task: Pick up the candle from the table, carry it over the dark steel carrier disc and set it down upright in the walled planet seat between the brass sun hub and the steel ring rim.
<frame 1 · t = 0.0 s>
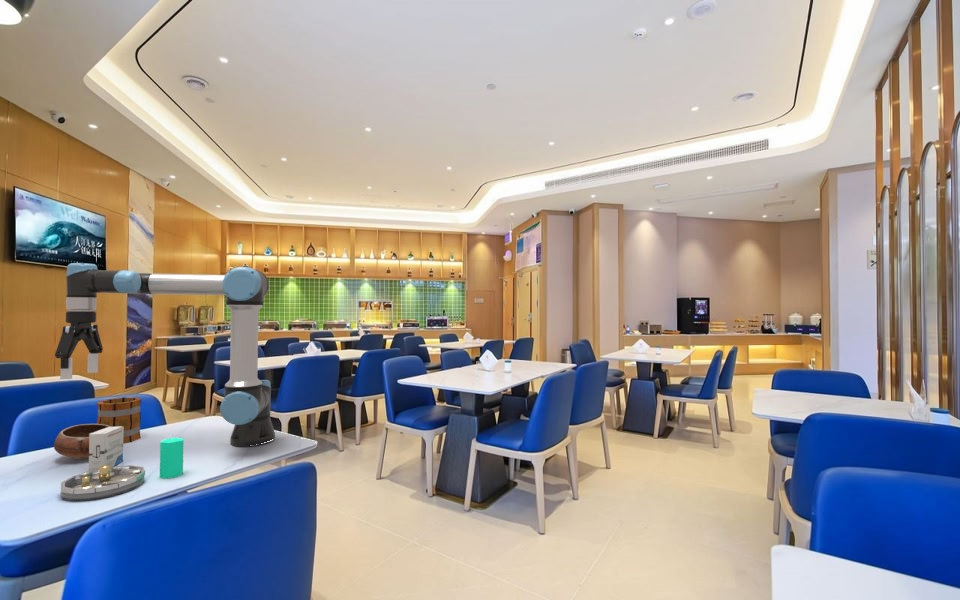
hand: (80, 375, 148), 28 cm above the table, fingers open, 13 cm apart
bowl: (85, 457, 153), on the table
candle: (171, 475, 137), on the table
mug: (121, 438, 174), on the table
carrier: (104, 487, 127), on the table
ink box: (106, 467, 144), on the table
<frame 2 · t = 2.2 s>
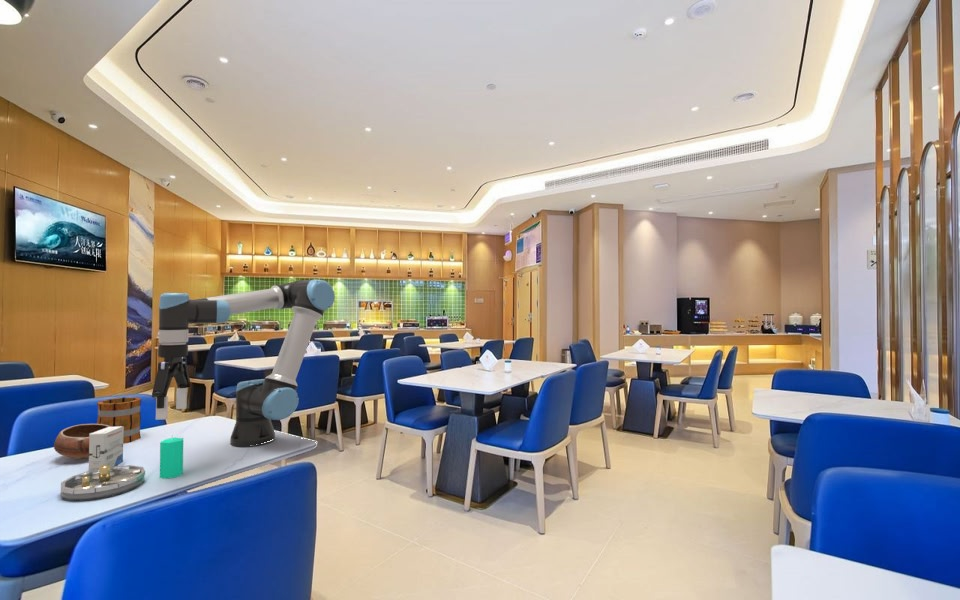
hand: (171, 413, 137), 18 cm above the table, fingers open, 13 cm apart
nothing on the table moved.
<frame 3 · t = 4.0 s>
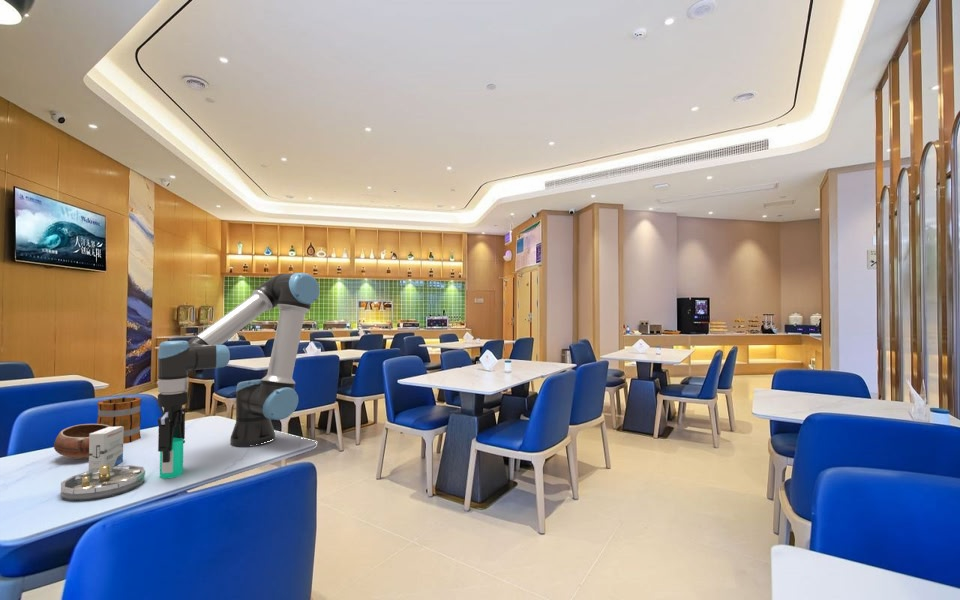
hand: (171, 468, 137), 2 cm above the table, fingers closed on candle, 5 cm apart
candle: (171, 475, 137), on the table, touching gripper
everything else where it was.
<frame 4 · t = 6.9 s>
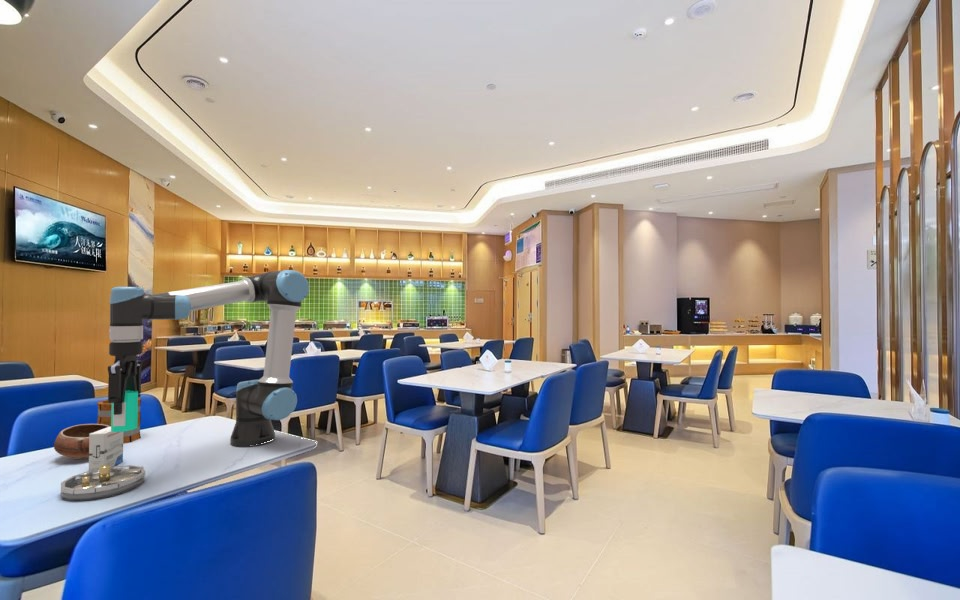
hand: (124, 423, 129), 18 cm above the table, fingers closed on candle, 5 cm apart
candle: (124, 429, 128), point 16 cm above the table, touching gripper
everything else where it was.
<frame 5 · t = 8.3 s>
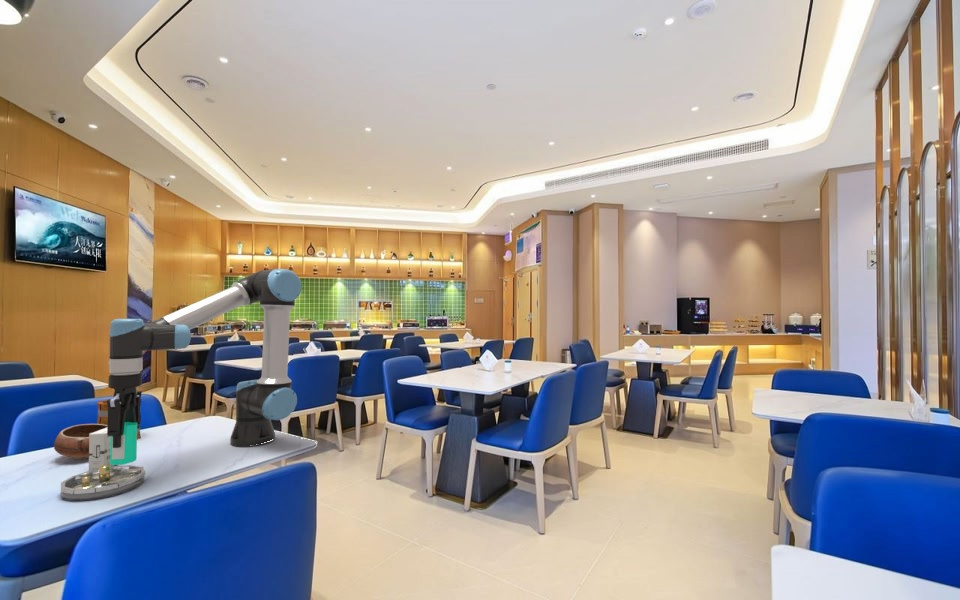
hand: (123, 455, 128), 9 cm above the table, fingers closed on candle, 5 cm apart
candle: (123, 462, 128), point 7 cm above the table, touching gripper
everything else where it was.
when the fingers open (5 cm above the table, at t = 9.3 s): candle drops 1 cm, resting on carrier.
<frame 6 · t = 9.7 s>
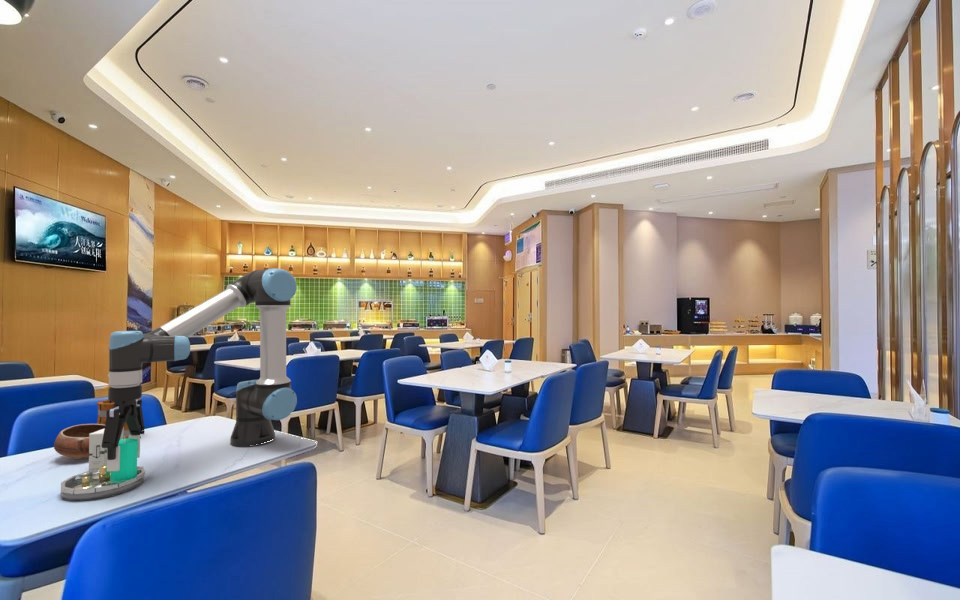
hand: (124, 463, 128), 6 cm above the table, fingers open, 10 cm apart
candle: (123, 478, 128), point 2 cm above the table, touching carrier
everything else where it was.
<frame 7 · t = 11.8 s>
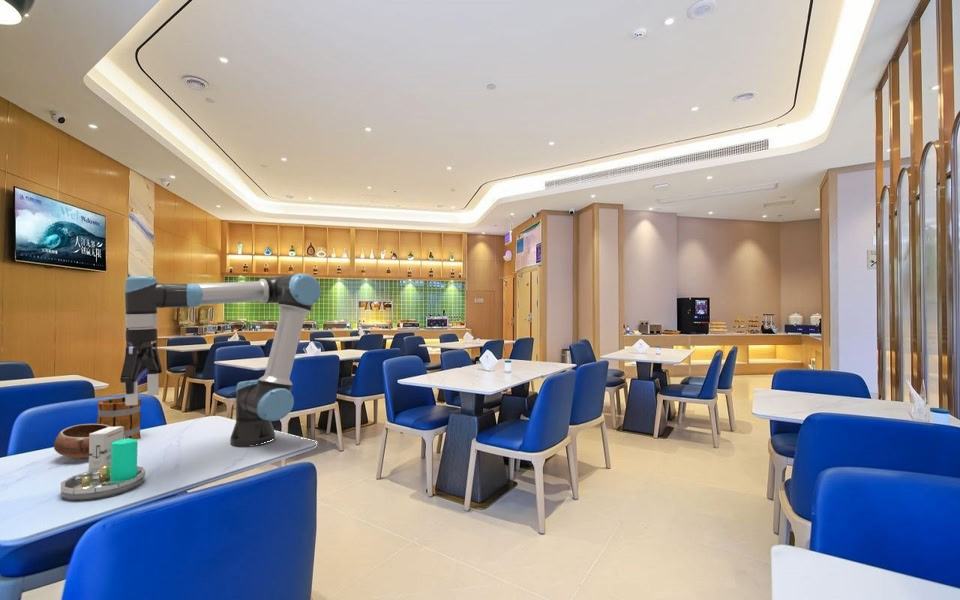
hand: (142, 399, 135), 23 cm above the table, fingers open, 13 cm apart
nothing on the table moved.
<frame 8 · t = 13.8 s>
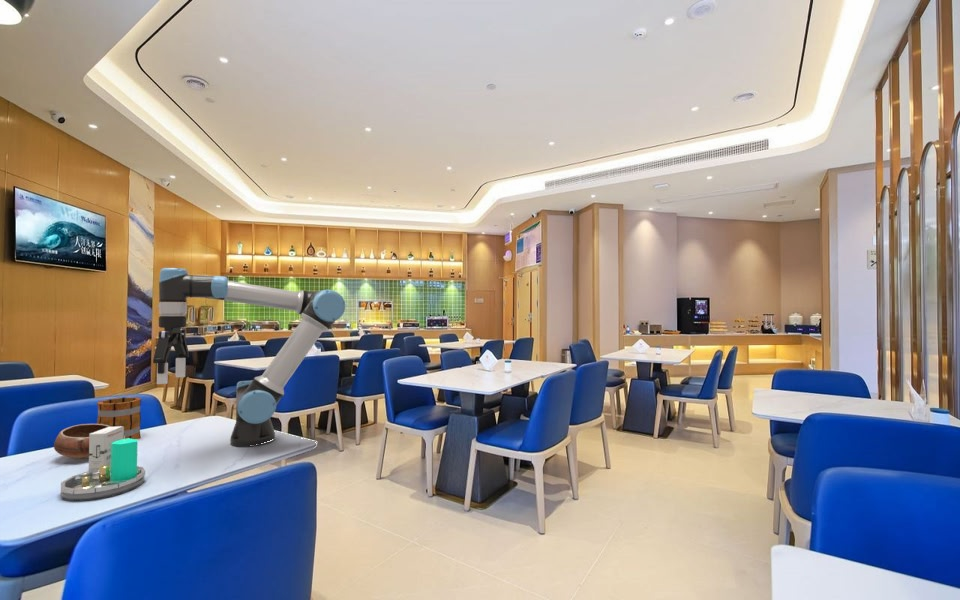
hand: (171, 380, 148), 27 cm above the table, fingers open, 13 cm apart
nothing on the table moved.
at the end: candle 0.1 cm from the target spot on the carrier, point 2.0 cm above the carrier's base; candle tilted 0°; the gripper is holding nothing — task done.
